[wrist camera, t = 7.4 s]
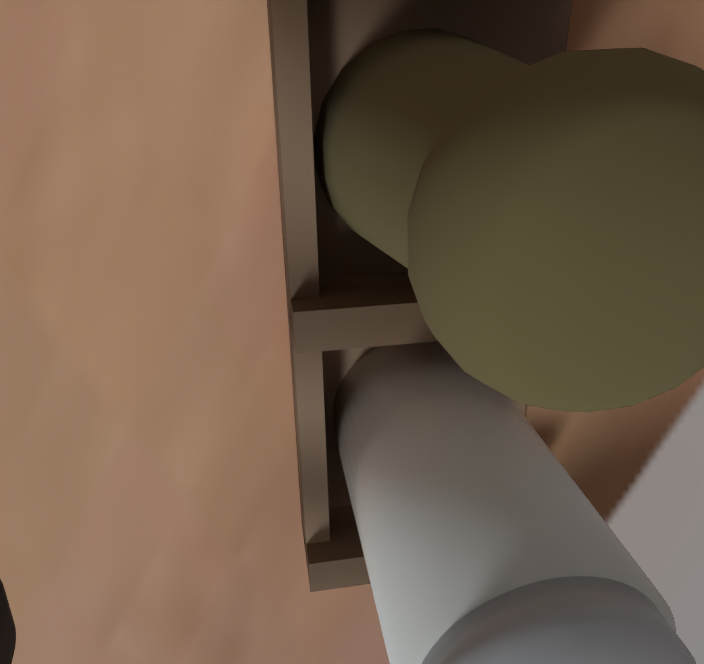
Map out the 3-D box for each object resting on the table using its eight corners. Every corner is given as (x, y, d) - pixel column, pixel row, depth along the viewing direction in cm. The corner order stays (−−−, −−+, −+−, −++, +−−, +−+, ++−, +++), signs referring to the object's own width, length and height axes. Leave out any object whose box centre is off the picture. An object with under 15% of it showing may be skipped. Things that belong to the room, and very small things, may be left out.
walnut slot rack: (505, 497, 25) (542, 559, 22) (301, 523, 23) (310, 591, 20) (564, -58, 17) (633, -81, 14) (263, -59, 16) (268, -84, 13)
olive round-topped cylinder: (289, 56, 16) (367, 76, 6) (513, 4, 16) (924, -55, 7) (339, 272, 19) (448, 526, 9) (531, 223, 19) (842, 416, 9)
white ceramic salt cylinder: (487, 468, 23) (676, 793, 13) (334, 486, 22) (410, 845, 12) (500, 327, 20) (742, 591, 11) (329, 342, 20) (418, 641, 10)
